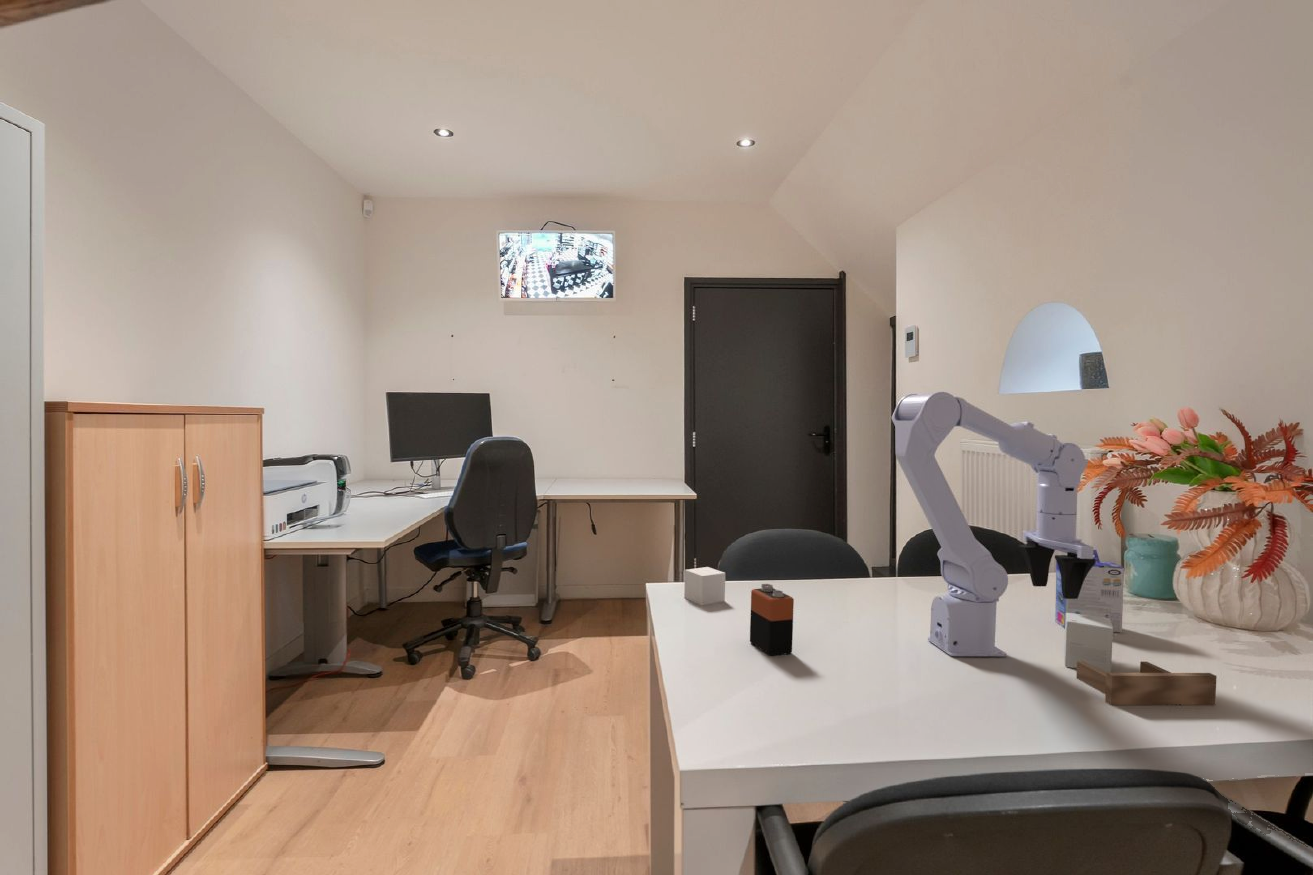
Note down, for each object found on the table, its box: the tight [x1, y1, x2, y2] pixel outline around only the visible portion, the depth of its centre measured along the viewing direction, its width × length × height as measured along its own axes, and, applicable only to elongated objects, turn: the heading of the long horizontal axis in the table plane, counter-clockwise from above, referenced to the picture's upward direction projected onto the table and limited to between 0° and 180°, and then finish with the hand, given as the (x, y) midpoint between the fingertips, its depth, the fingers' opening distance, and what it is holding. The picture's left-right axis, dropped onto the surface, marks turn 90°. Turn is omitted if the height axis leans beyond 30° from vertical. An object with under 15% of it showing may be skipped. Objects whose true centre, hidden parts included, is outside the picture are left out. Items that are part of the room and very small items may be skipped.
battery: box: [749, 583, 795, 656], centre depth 103 cm, size 4×7×10 cm, turn 21°
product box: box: [1063, 613, 1114, 673], centre depth 99 cm, size 6×6×7 cm
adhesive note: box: [683, 566, 726, 606], centre depth 131 cm, size 6×6×6 cm
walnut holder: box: [1075, 661, 1218, 706], centre depth 90 cm, size 15×9×4 cm, turn 94°
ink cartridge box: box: [1054, 549, 1125, 633], centre depth 119 cm, size 10×6×14 cm, turn 78°
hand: (1054, 591), depth 107 cm, fingers open, 7 cm apart
